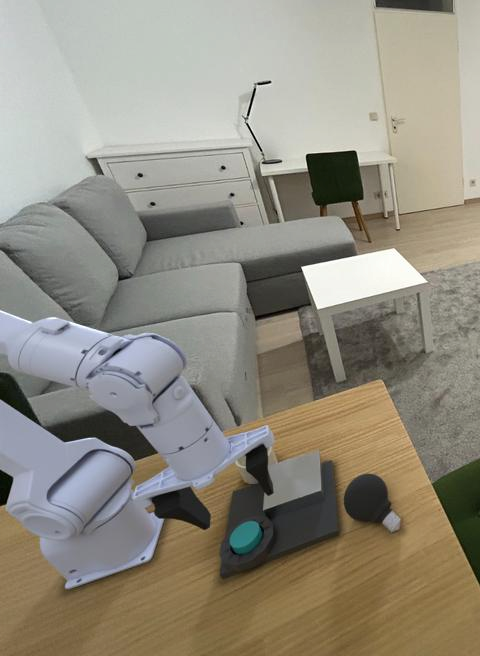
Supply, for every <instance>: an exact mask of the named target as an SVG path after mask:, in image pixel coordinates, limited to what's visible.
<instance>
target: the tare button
mask: <svg viewBox="0 0 480 656" xmlns="http://www.w3.org/2000/svg"><path fill="white" fill-rule="evenodd" d="M261 539H262V531H261V529H260V527H259V525H258V523H256V522H254V521H249V522H245V523H243V524H241V525H240V526H238V527H237V528H236V529H235V530H234V531H233V533H232V534H231V537H230V545H231V546H232V548H233V550H234V552H235V553H237V554H245V553H248V552H250V551H252V550H253V549H254V548H255V547H256V546H257V545H258V544H259V543H260V541H261Z"/></svg>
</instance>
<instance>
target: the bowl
mask: <svg viewBox="0 0 480 656" xmlns="http://www.w3.org/2000/svg"><path fill="white" fill-rule="evenodd" d="M267 450H268V466H269V465H272V464H275V463H278V462H279V461H278V458H277V456H276V453H275V451H274V448H273V445H272V446H270V447H268V448H267ZM234 463H235V466H236V467H237V469H238V472H239V474H240V476H241V478H242V480H243V481H244V483H246V484H248V485H254V484H257V483H259V482H258V481H257V480H256V479H255V478H254V477H253V476H252V475H251V474H249V473H248V472H247V471H246V456H243V457H241V458H239V459H238V460H237V461H235V462H234Z"/></svg>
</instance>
